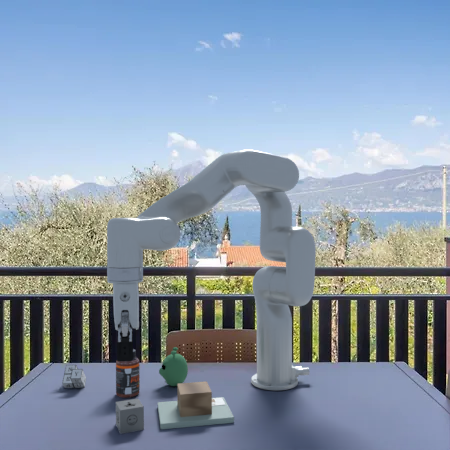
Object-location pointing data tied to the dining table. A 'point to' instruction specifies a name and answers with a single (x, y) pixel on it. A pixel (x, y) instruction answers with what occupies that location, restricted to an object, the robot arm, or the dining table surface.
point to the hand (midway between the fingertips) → (125, 354)
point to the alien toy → (174, 368)
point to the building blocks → (74, 377)
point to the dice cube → (129, 416)
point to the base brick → (194, 399)
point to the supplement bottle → (127, 377)
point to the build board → (172, 418)
